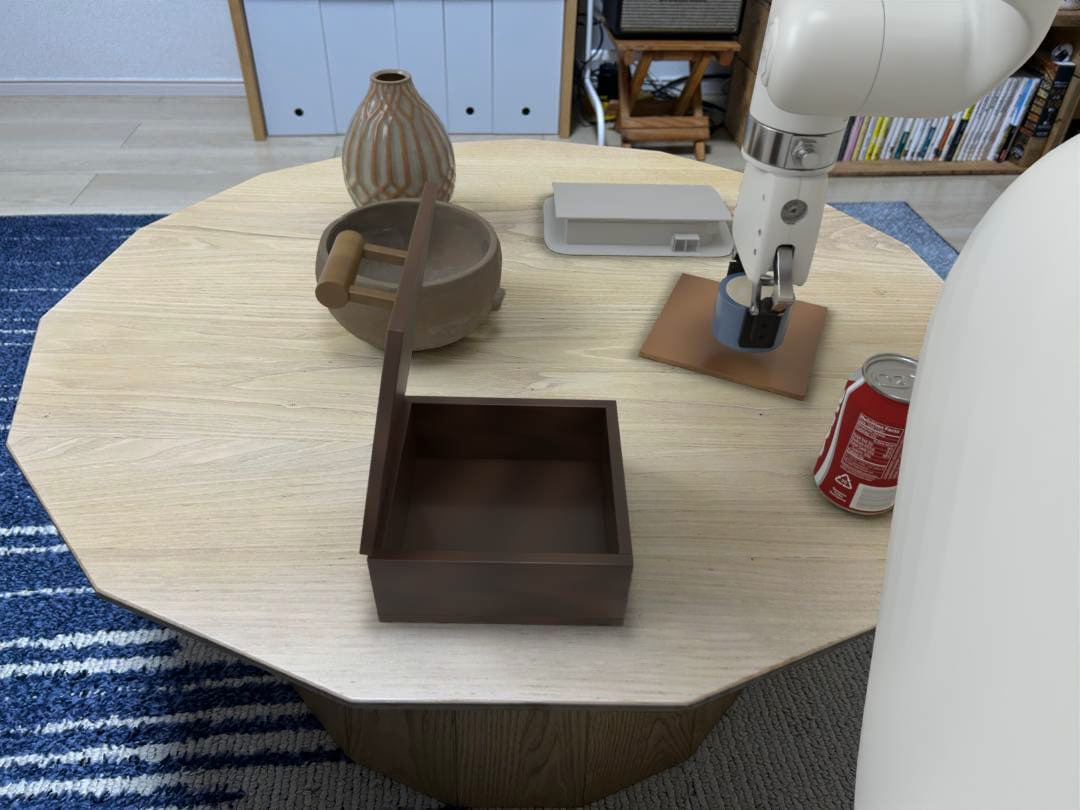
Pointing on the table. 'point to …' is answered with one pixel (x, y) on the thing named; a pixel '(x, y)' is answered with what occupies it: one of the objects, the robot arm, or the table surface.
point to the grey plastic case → (637, 220)
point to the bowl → (449, 279)
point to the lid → (400, 335)
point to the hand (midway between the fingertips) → (746, 320)
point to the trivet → (694, 347)
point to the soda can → (868, 436)
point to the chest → (504, 514)
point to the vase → (396, 144)
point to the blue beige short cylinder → (740, 311)
